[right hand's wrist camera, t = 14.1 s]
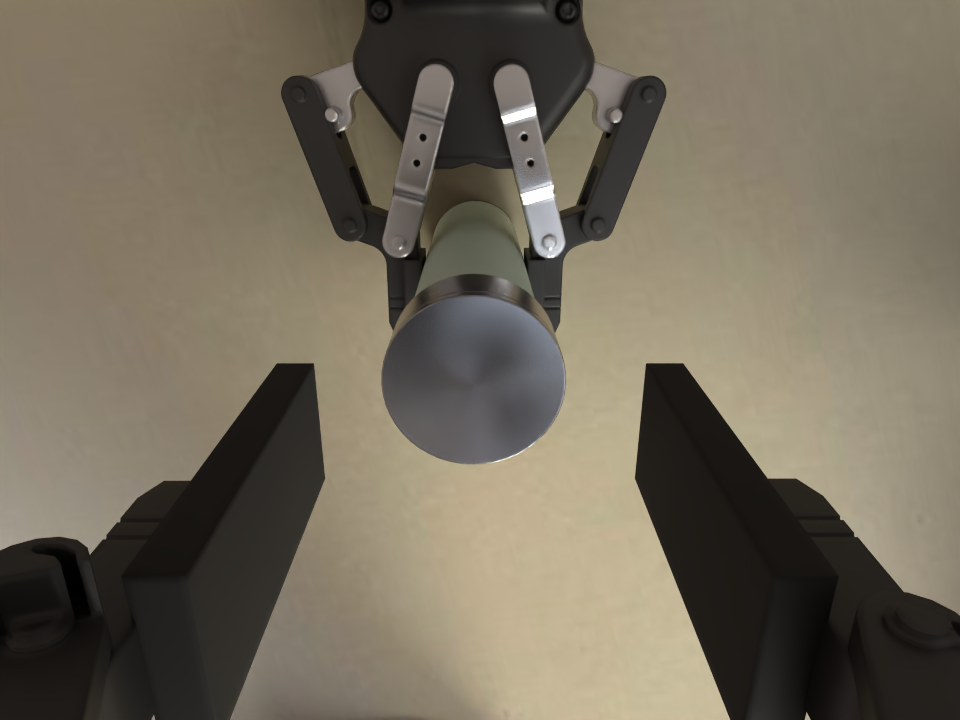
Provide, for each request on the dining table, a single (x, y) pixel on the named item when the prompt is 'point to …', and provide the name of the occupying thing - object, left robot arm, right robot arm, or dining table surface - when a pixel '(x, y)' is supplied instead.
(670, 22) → the dining table surface
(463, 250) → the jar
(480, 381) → the lid
